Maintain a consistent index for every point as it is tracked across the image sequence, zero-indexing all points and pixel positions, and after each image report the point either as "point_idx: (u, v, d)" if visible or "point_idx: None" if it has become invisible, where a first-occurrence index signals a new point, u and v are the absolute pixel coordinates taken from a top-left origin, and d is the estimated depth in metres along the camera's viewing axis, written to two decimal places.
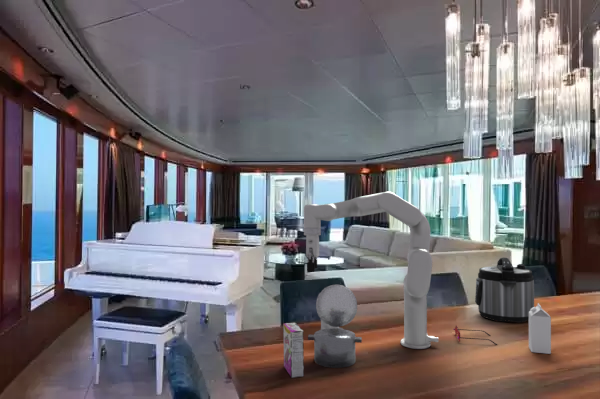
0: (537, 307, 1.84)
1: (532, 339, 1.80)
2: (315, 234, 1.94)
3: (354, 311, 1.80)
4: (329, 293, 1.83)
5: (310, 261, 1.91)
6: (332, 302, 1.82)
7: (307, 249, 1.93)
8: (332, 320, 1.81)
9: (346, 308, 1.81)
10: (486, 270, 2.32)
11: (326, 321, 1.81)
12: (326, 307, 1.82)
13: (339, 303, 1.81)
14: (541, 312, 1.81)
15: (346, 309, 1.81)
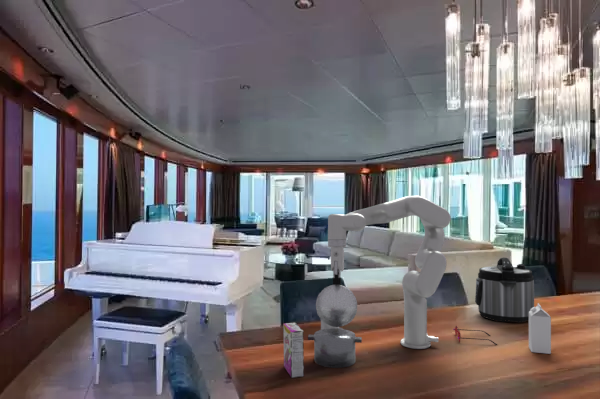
0: (537, 307, 1.84)
1: (532, 339, 1.80)
2: (340, 246, 1.81)
3: (354, 311, 1.79)
4: (329, 293, 1.82)
5: (336, 277, 1.82)
6: (332, 302, 1.81)
7: (332, 262, 1.79)
8: (332, 320, 1.81)
9: (346, 308, 1.80)
10: (486, 270, 2.32)
11: (326, 321, 1.81)
12: (326, 307, 1.81)
13: (339, 303, 1.81)
14: (541, 312, 1.81)
15: (346, 309, 1.80)
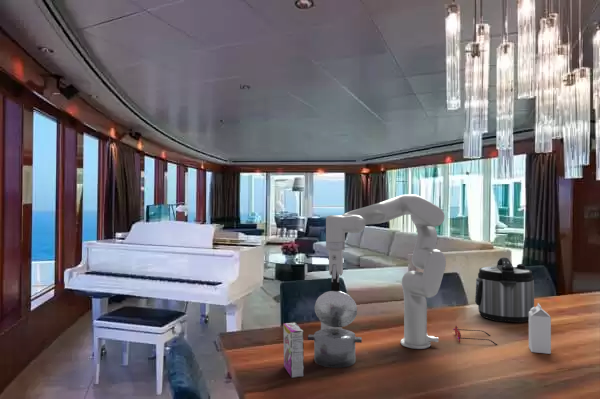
0: (537, 307, 1.84)
1: (532, 339, 1.80)
2: (339, 249, 1.73)
3: (354, 315, 1.77)
4: (327, 299, 1.76)
5: (335, 281, 1.74)
6: (331, 307, 1.77)
7: (330, 266, 1.72)
8: (332, 322, 1.79)
9: (345, 312, 1.77)
10: (486, 270, 2.32)
11: (326, 322, 1.80)
12: (325, 311, 1.78)
13: (338, 308, 1.77)
14: (541, 312, 1.81)
15: (345, 313, 1.77)
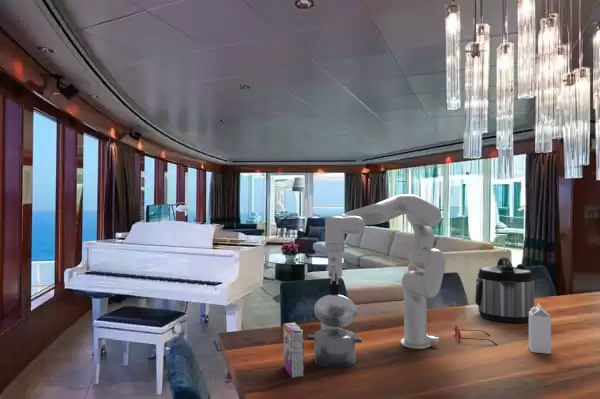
0: (537, 307, 1.84)
1: (532, 339, 1.80)
2: (338, 251, 1.69)
3: (354, 316, 1.76)
4: (327, 302, 1.74)
5: (334, 283, 1.71)
6: (331, 309, 1.76)
7: (329, 268, 1.68)
8: (332, 322, 1.79)
9: (345, 314, 1.76)
10: (486, 270, 2.32)
11: (326, 323, 1.80)
12: (325, 313, 1.77)
13: (338, 310, 1.75)
14: (541, 312, 1.81)
15: (345, 314, 1.76)
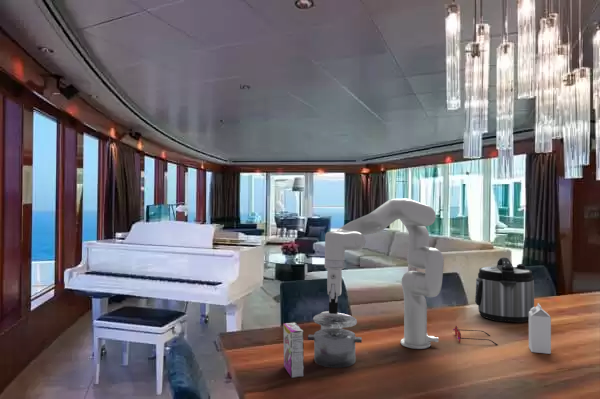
0: (537, 307, 1.84)
1: (532, 339, 1.80)
2: (338, 268, 1.64)
3: (353, 323, 1.74)
4: (326, 317, 1.70)
5: (333, 301, 1.65)
6: (330, 320, 1.72)
7: (329, 285, 1.62)
8: (332, 325, 1.78)
9: (345, 322, 1.73)
10: (486, 270, 2.32)
11: (326, 325, 1.79)
12: (324, 321, 1.75)
13: (337, 321, 1.72)
14: (541, 312, 1.81)
15: (345, 322, 1.74)
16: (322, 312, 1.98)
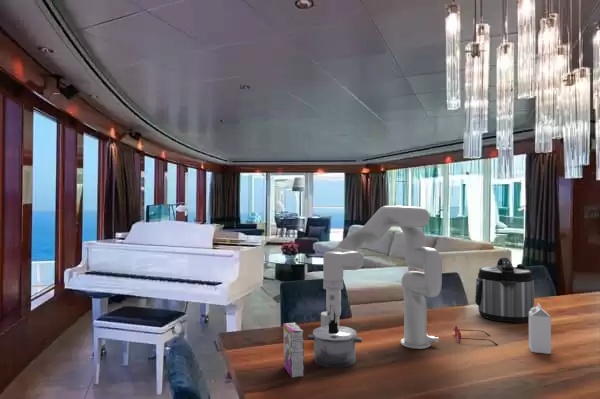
0: (537, 307, 1.84)
1: (532, 339, 1.80)
2: (337, 288, 1.63)
3: None
4: None
5: (332, 322, 1.64)
6: None
7: (328, 307, 1.62)
8: None
9: None
10: (486, 270, 2.32)
11: None
12: None
13: None
14: (541, 312, 1.81)
15: None
16: (322, 312, 1.98)
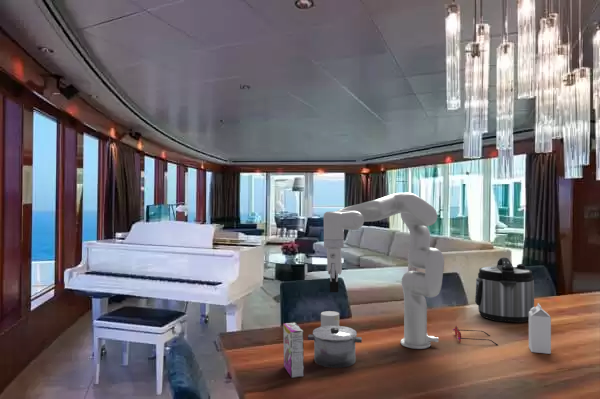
0: (537, 307, 1.84)
1: (532, 339, 1.80)
2: (338, 247, 1.65)
3: None
4: None
5: (333, 280, 1.66)
6: None
7: (329, 265, 1.63)
8: None
9: None
10: (486, 270, 2.32)
11: None
12: None
13: None
14: (541, 312, 1.81)
15: None
16: (322, 312, 1.98)
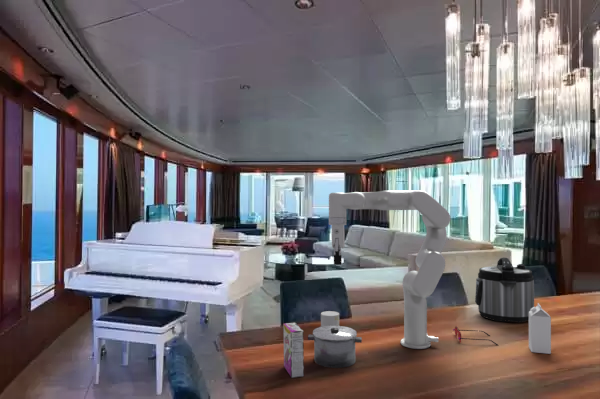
0: (537, 307, 1.84)
1: (532, 339, 1.80)
2: (341, 224, 1.84)
3: None
4: None
5: (337, 254, 1.86)
6: None
7: (333, 239, 1.83)
8: None
9: None
10: (486, 270, 2.32)
11: None
12: None
13: None
14: (541, 312, 1.81)
15: None
16: (322, 312, 1.98)
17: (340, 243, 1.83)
